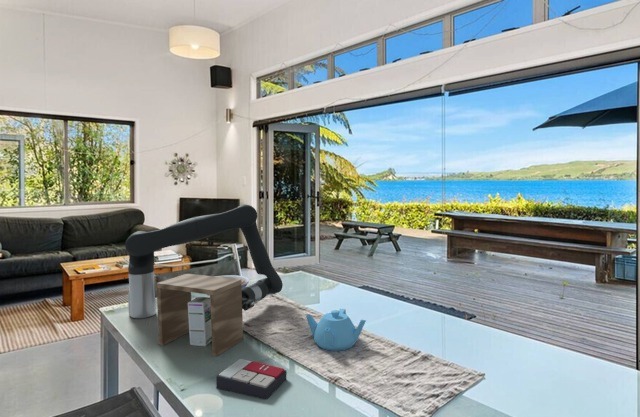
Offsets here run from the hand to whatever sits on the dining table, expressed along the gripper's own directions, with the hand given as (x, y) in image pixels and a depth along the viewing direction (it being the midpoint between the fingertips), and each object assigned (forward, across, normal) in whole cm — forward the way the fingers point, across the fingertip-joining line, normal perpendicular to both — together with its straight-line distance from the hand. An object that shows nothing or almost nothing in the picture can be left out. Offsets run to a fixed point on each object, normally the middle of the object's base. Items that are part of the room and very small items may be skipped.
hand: (221, 308), depth 147 cm
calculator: (+28, +31, +9) cm, 42 cm away
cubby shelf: (+11, 0, +8) cm, 14 cm away
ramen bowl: (-34, -25, +8) cm, 43 cm away
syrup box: (+11, 0, +8) cm, 14 cm away
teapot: (-5, +41, +8) cm, 42 cm away
